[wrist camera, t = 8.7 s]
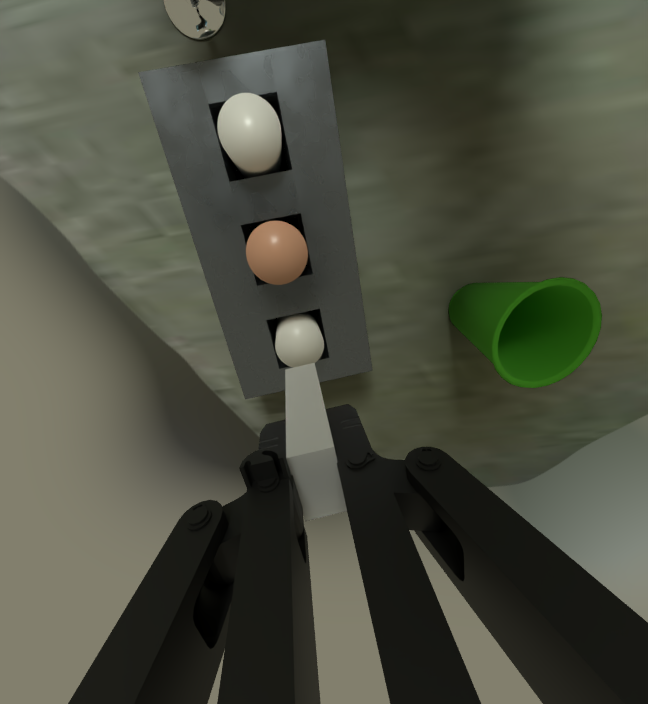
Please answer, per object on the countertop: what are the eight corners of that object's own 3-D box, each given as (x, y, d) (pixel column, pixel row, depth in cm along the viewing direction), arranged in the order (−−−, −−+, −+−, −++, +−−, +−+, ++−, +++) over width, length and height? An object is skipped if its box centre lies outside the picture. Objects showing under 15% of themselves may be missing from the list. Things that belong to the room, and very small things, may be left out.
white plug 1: (227, 133, 26) (208, 98, 19) (275, 124, 26) (272, 87, 19) (241, 187, 27) (228, 172, 21) (286, 178, 27) (287, 160, 21)
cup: (435, 354, 36) (495, 401, 26) (425, 276, 32) (490, 296, 22) (508, 332, 36) (597, 372, 26) (507, 254, 33) (608, 263, 22)
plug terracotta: (249, 229, 26) (238, 227, 19) (296, 219, 26) (300, 215, 20) (261, 276, 27) (255, 290, 21) (306, 267, 28) (313, 278, 21)
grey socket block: (170, 108, 25) (138, 72, 19) (316, 81, 26) (325, 39, 20) (251, 372, 34) (245, 399, 28) (358, 348, 34) (372, 370, 29)
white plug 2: (272, 308, 31) (269, 328, 25) (311, 300, 31) (318, 317, 25) (282, 345, 33) (281, 372, 26) (319, 336, 33) (328, 362, 26)
